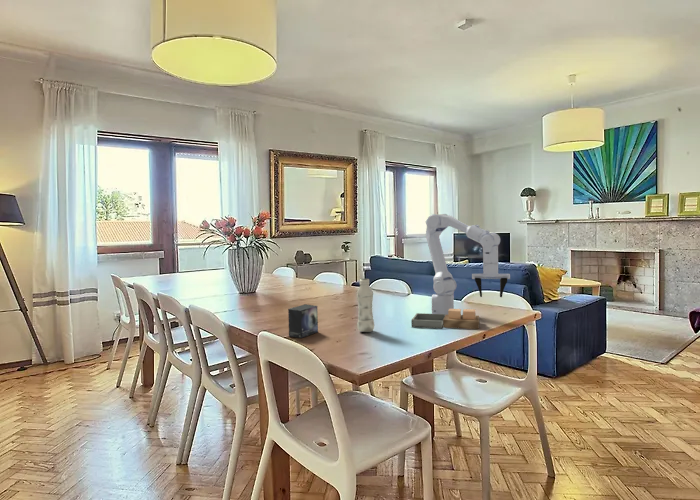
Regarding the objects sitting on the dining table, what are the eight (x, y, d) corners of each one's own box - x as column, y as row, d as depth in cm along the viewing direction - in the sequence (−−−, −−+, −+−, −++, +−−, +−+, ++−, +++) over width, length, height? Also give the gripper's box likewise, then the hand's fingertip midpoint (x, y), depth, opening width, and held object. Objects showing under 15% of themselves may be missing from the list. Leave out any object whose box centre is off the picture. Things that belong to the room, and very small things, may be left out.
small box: (302, 338, 158) (300, 310, 157) (288, 336, 161) (286, 308, 160) (319, 332, 167) (318, 305, 166) (305, 330, 170) (304, 303, 169)
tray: (411, 327, 170) (411, 320, 170) (416, 319, 182) (416, 313, 182) (441, 328, 166) (441, 321, 166) (444, 320, 179) (444, 314, 178)
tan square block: (448, 318, 169) (448, 310, 169) (449, 316, 174) (449, 308, 174) (460, 318, 168) (460, 311, 168) (461, 316, 172) (461, 308, 172)
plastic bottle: (376, 330, 167) (375, 278, 166) (371, 334, 160) (370, 280, 159) (360, 329, 169) (359, 278, 168) (355, 333, 163) (353, 280, 161)
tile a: (463, 319, 168) (462, 311, 168) (463, 316, 172) (463, 309, 172) (475, 319, 166) (475, 311, 166) (475, 316, 171) (475, 309, 170)
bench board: (443, 327, 168) (443, 319, 167) (445, 321, 177) (445, 314, 177) (478, 329, 164) (478, 321, 163) (479, 323, 173) (479, 315, 173)
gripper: (472, 264, 173) (472, 298, 173) (510, 264, 169) (511, 298, 170) (471, 262, 179) (472, 295, 180) (509, 262, 176) (509, 295, 177)
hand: (490, 296), depth 175 cm, fingers open, 7 cm apart
